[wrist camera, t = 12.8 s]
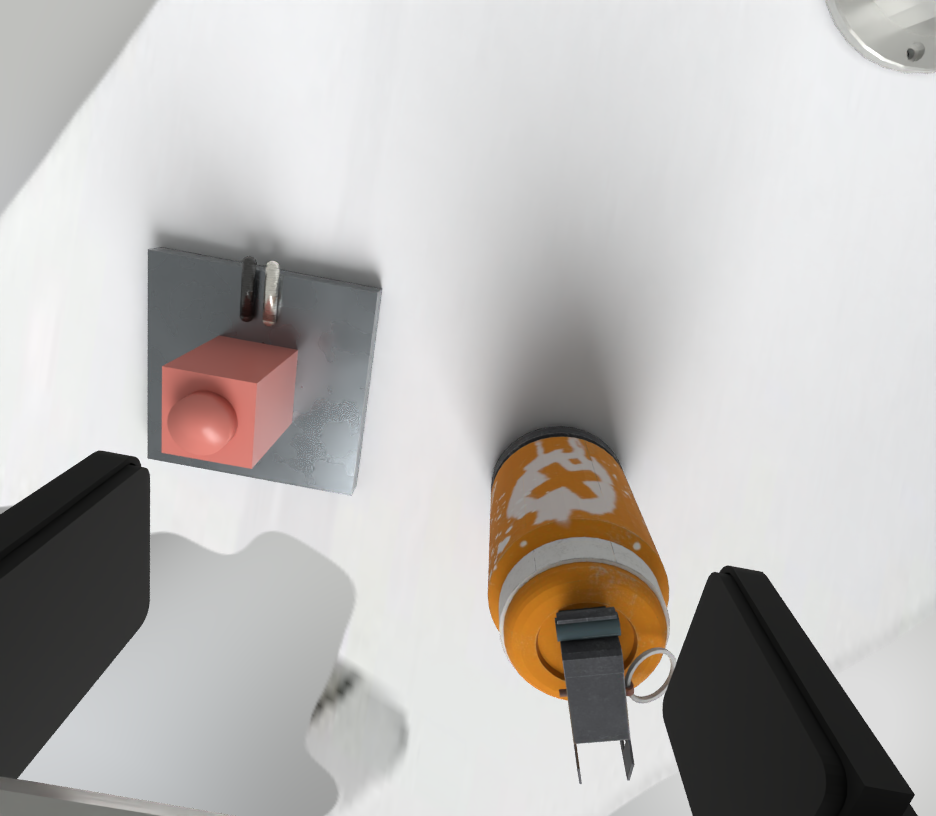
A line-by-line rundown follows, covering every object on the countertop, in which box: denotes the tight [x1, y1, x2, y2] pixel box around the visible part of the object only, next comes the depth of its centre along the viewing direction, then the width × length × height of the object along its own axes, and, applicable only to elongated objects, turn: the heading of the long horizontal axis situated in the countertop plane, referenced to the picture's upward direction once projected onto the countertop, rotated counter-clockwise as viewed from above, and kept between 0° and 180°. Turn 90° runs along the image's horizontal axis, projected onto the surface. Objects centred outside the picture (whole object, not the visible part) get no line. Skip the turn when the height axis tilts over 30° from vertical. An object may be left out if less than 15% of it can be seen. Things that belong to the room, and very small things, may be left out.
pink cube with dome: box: [162, 336, 298, 469], centre depth 36 cm, size 5×5×8 cm
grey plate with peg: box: [148, 247, 382, 496], centre depth 38 cm, size 15×14×6 cm
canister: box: [488, 427, 677, 784], centre depth 34 cm, size 9×11×20 cm
